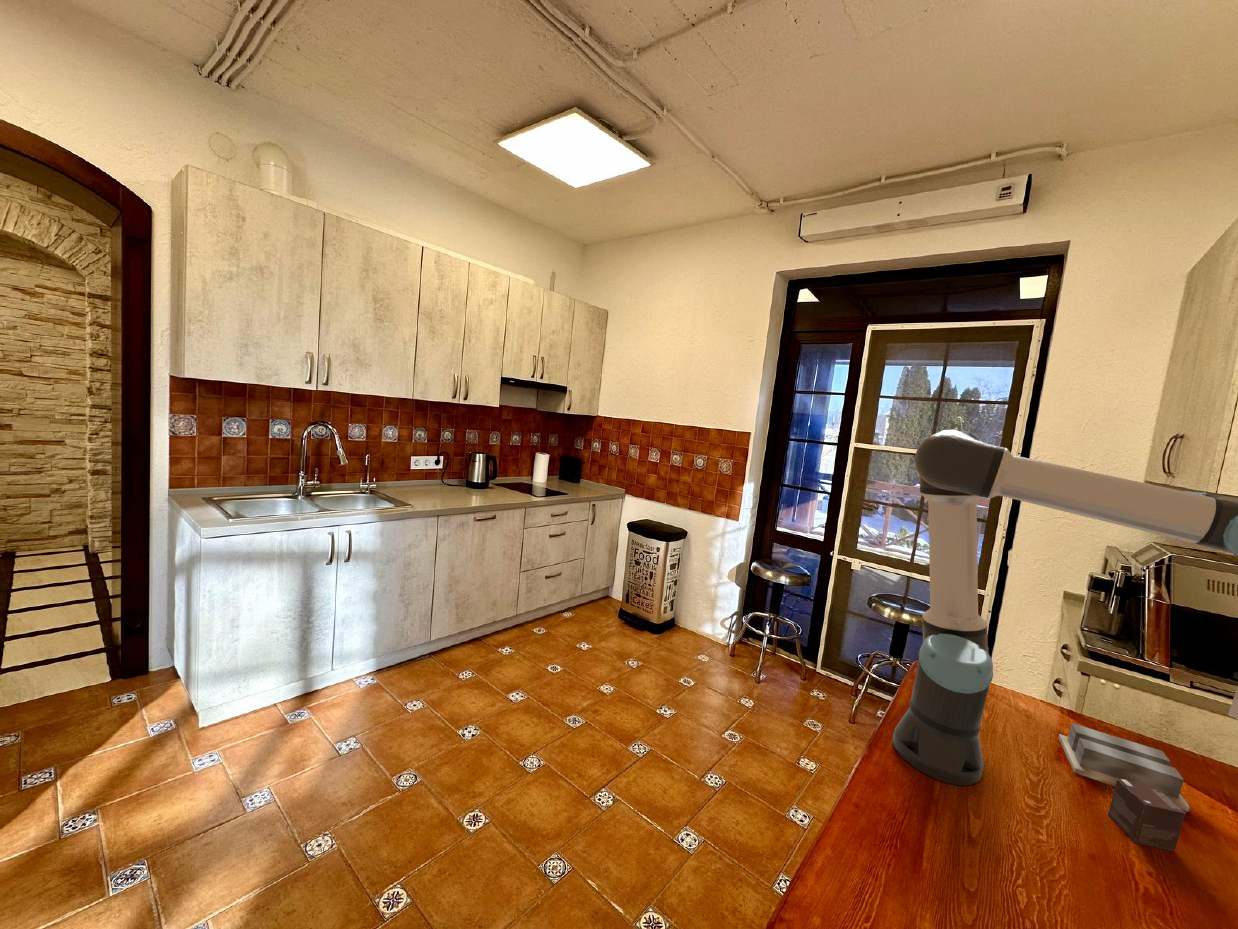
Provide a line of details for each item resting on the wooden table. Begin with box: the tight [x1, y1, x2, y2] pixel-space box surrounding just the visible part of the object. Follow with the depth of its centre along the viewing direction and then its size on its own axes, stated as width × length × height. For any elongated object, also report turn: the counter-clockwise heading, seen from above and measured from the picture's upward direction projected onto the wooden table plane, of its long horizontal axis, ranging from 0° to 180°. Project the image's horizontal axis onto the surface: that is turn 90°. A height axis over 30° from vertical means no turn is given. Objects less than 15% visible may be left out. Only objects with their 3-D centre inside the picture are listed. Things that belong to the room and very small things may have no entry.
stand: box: [1058, 722, 1190, 813], centre depth 100 cm, size 16×12×5 cm
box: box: [1107, 779, 1187, 852], centre depth 85 cm, size 6×6×7 cm
